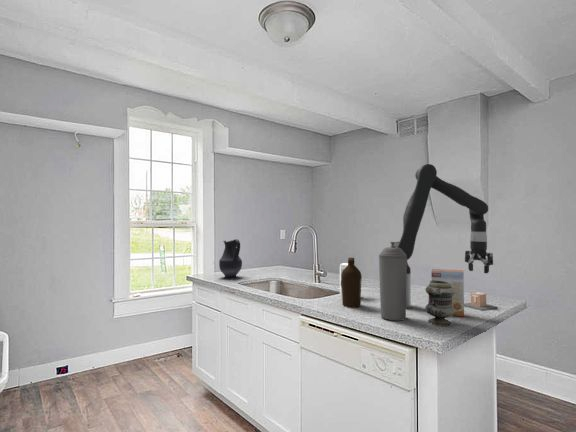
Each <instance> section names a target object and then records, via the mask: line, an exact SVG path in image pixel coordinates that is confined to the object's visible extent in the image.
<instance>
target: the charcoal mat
mask: <svg viewBox="0 0 576 432" xmlns="http://www.w3.org/2000/svg"><path fill="white" fill-rule="evenodd" d="M464 308H471V309H475V310H478V311H480V312H481V311H482V312H483V311H486V310H494V309H498V306H496V305H492V304H490V303H489V304H488V303H486V306H483V307H478V306H474V305H471V302H466V303H465V302H464Z"/></svg>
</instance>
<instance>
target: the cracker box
mask: <svg viewBox="0 0 576 432" xmlns="http://www.w3.org/2000/svg"><path fill="white" fill-rule="evenodd" d="M464 273H465V272H464V270H461V269H460V270H458V269H442V268H441V269H439V268H433V269H432V270H431V281H432V280H443V281H448V282H450V283H451V287H452V288H453V289H454V290H455V294H454V295H453V296H452V306H453V307H454V309H455V314H454V315H453V316H452V317H461V318H462V317H465V306H464V304H465V285H464V282H465V279H464V278H465V277H464Z"/></svg>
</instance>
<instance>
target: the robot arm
mask: <svg viewBox="0 0 576 432" xmlns="http://www.w3.org/2000/svg"><path fill="white" fill-rule="evenodd" d="M437 173H438V171H437V169H436V166H434V165H433V164H430V163H426V164H423V165H422V166H420V167H419V168H418V169H417V170H416V171H415V175H414V176H415V179H416V180H417V181H416V184H415V187H414V190H413V192H412V194H411V196H410V197H409V200H408V201H407V203H406V206H405V209H404V213H403V217H402V220H403V221H402V222H403V223H402V225H403V226H402V227H403V228H402V229H403V231H402V235H401V237H400V239H399V241H394V242H395V243H394V246H395V247H398V248H401V249H402V250H403V252H405V254H406V255H407V261H408V260H409V259H411V257H413V253H414V249H415V244H416V240H417V236H418V232H419V229H420V226H421V223H422V221H423V216H424V214H425V212H426V207H427V203H428V199H429V195H430V192H431V189H433V190H435V191H437V192H439V193H441V194H443V195H444V196H445V197H447V198H449V199H451V200H452V201H453V202H455V203H456V204H458V205H460V206H462V207H465V208H467V209H468V210H469V211H468V213H469V219H470V235H469V236H470V242H469V243H470V245H469V247H470V250H465V252H464V262H465V263H467V264H468V271H469V272H473V271H474V262H475V261H478V262H479V261H480V262H481V263H483V265H484V266H483V273H484V274H489V272H490V267H491V266H493V265H494V258H493V257H494V256H493V255H494V254H493V252H487V250H488V235H487V221H486V220H485V217H484V216H485V215H486V214H487V213H488V212H489V205H488V204H487V203H486V202H485V201H484V200H482V199H480V198H478V197H476V196H473V195H471V194H470V193H468V192H467V191H465V190H464V189H462V188H461V187H459V186H457V185H455V184H452V183H449V182H448V181H446V180H444V179H442V178H440V177H439V176H437ZM411 275H412V274H411V267H410V265H409V263H408V262H407V282H406V309H407V308H411V307H412V305H411V304H412V302H411V301H412V299H411V298H412V297H411V295H412V286H411V285H412V283H411V281H412V280H411Z"/></svg>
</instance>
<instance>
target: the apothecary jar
mask: <svg viewBox="0 0 576 432" xmlns="http://www.w3.org/2000/svg"><path fill="white" fill-rule="evenodd" d="M425 292H426V294H427V295H428V303H427V304H426V305H425V307H424V310H425V312H426V313H427V314H428V315H430V316H432V318H429V319H428V320H427V322H428V323H429V324H431V323H432V324H431V325H434V324H435V326H438V325H443V326H442V327H447V326H452V325H453V322H452V321H451V320H449V319H446V318H450V317H454V316H453V315H454V314H455V309H454V307H453V306H452V296H453V295H454V294H455V290H454V289H453V288H452V287H451V283H450V282H448V281H443V280H432V279H431V280H430V281H429V284H428V285H427V286H426V287H425ZM446 325H447V326H446Z"/></svg>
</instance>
